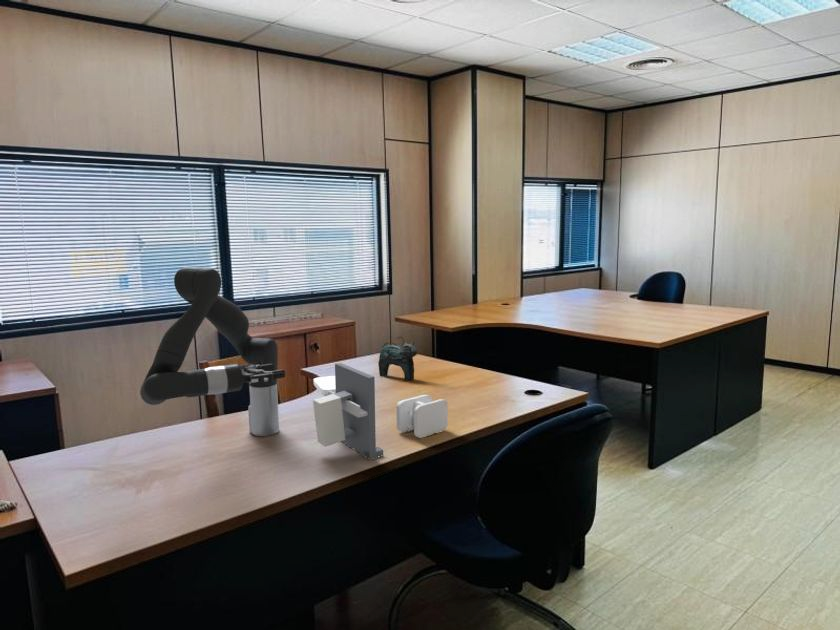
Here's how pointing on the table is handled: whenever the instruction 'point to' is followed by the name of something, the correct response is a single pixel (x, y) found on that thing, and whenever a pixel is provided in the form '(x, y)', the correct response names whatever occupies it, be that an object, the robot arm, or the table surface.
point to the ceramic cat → (398, 359)
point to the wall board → (358, 408)
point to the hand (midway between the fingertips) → (278, 370)
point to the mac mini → (325, 384)
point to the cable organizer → (422, 415)
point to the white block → (331, 419)
